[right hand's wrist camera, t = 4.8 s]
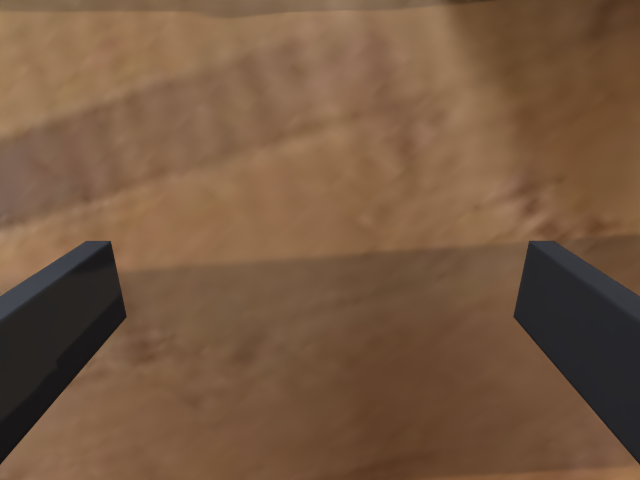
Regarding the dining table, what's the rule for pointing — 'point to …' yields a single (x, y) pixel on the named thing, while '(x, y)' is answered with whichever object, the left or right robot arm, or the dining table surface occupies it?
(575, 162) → the dining table surface
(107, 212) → the dining table surface
